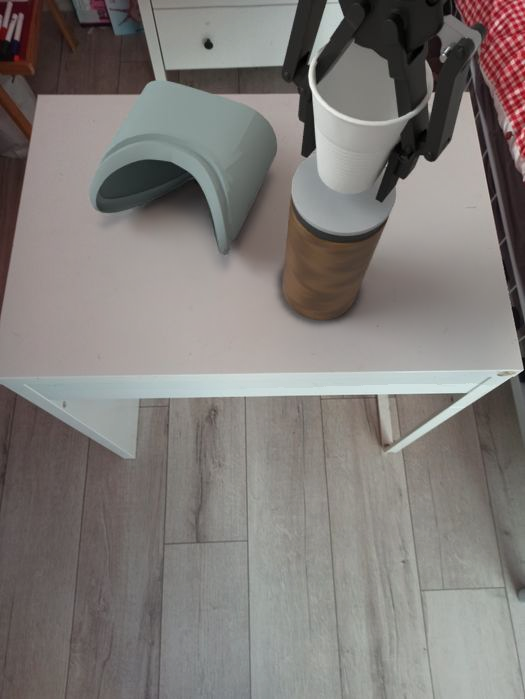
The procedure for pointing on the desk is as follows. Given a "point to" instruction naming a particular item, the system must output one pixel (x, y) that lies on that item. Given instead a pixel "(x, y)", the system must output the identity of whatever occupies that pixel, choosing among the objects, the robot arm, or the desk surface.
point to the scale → (337, 206)
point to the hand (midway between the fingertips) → (347, 169)
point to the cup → (357, 119)
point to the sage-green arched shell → (187, 155)
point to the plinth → (323, 270)
